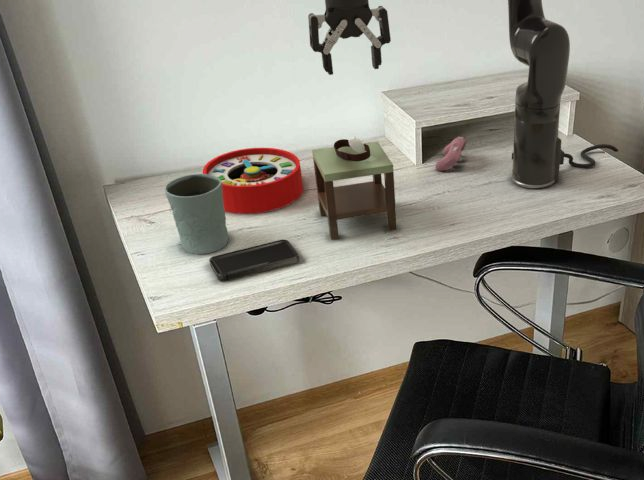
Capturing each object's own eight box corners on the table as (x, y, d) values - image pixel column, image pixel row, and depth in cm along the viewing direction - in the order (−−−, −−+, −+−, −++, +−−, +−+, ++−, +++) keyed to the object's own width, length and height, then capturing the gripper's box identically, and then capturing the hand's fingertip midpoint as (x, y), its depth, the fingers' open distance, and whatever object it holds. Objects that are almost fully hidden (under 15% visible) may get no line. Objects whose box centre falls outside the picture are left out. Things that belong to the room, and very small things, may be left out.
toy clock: (216, 195, 159) (192, 158, 173) (221, 222, 162) (198, 184, 177) (313, 174, 166) (283, 141, 181) (316, 200, 170) (286, 165, 184)
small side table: (381, 203, 168) (377, 141, 160) (396, 229, 159) (393, 164, 151) (319, 212, 165) (312, 149, 157) (331, 240, 156) (324, 174, 148)
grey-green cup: (182, 260, 150) (168, 200, 143) (174, 236, 158) (160, 178, 151) (237, 248, 154) (226, 190, 146) (227, 225, 161) (215, 169, 154)
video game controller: (451, 179, 181) (465, 153, 177) (433, 169, 180) (446, 143, 176) (459, 161, 189) (473, 136, 184) (442, 152, 188) (455, 126, 184)
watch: (376, 156, 154) (375, 138, 152) (361, 165, 151) (360, 146, 149) (343, 148, 157) (342, 130, 155) (328, 157, 154) (326, 138, 152)
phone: (207, 257, 149) (286, 238, 154) (208, 263, 149) (287, 243, 155) (219, 277, 143) (300, 256, 148) (220, 282, 144) (301, 261, 149)
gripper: (307, -16, 135) (319, 82, 144) (390, -24, 138) (396, 72, 148) (299, -26, 140) (310, 69, 150) (379, -33, 144) (385, 60, 154)
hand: (353, 70), depth 149 cm, fingers open, 8 cm apart
